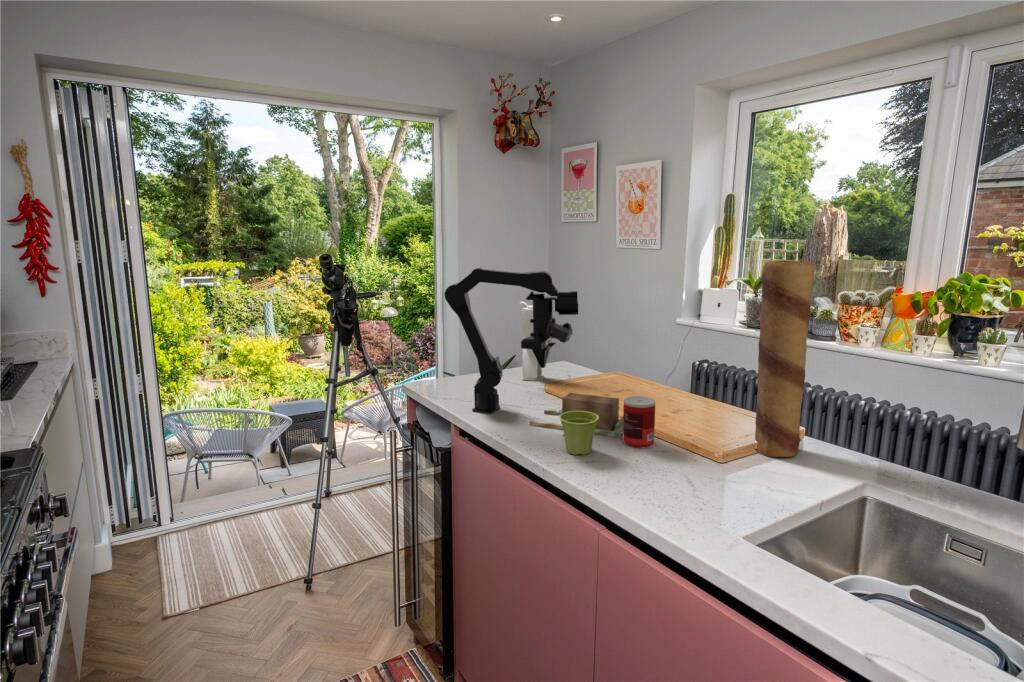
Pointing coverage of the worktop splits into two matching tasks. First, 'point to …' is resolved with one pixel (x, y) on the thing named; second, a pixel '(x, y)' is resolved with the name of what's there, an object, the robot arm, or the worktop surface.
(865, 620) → the worktop surface
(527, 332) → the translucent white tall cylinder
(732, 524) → the worktop surface
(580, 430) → the plant pot
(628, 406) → the canned food
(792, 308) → the wafer roll
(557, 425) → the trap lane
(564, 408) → the walnut block
